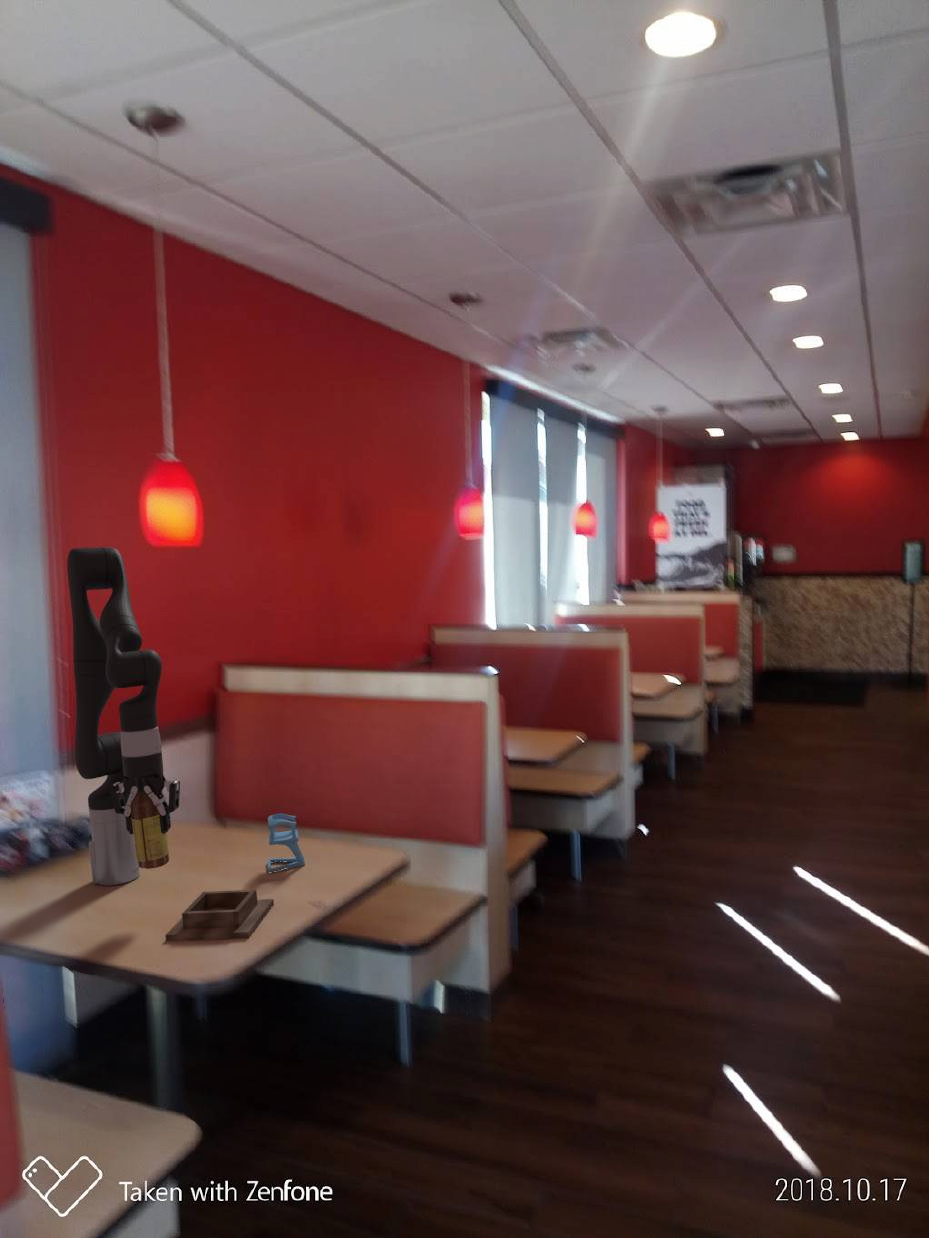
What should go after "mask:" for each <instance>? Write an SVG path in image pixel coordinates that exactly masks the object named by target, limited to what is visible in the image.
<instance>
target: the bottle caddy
mask: <svg viewBox="0 0 929 1238" xmlns="http://www.w3.org/2000/svg"><path fill="white" fill-rule="evenodd" d="M257 892H258V891H257V889H241V890H240V889H239V890H217V891H216V890H215V891H212V890H211V891H202V892H201V893H200V894H199V896H198V897H196V899H194V900H193V902H192V903H190V905H189V906H187V908H186V909H185V910H184V911H183V912H182V913H181V918H180V919H179V920H178V921H177V922H176V924H174V926H172V927H171V928H170V930H169V931H168V932H167V933H166V934H164V936H165V942H182V941H183V942H184V941H186V940H187V941H208V940H209V941H213V940H214V939H215V940H238V939H237V938H239V940H241V939H240V938H247V939H250V938H251V936H252V935H253V933H254V932H255V931H256V930H257V928H258V927H259V925H260V924H261V923H262V922H263V920H264V919H265V918H266V916H267V913H268V914H269V912H270V911H269V910H271V909H272V908H273V907H274V905H275V901H274V898H265V899H258V894H257ZM271 907H272V908H271ZM264 917H265V918H264ZM263 918H264V919H263ZM261 921H262V922H261ZM255 929H256V930H255ZM249 937H250V938H249ZM235 938H236V939H235ZM187 941H186V942H187Z"/></svg>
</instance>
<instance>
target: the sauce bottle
mask: <svg viewBox="0 0 929 1238" xmlns="http://www.w3.org/2000/svg"><path fill="white" fill-rule="evenodd" d="M133 782H134V786H137V788H138V790H137V794H136V796H134V798H133V800H132V802H131V806H130V808H131V816H132V817H131V819H132V827H133V834H134V842H135V850H136V858H137V860H138V865H139V869H140V868H141V869H146V870H147V869H148V870H149V869H151V870H152V869H157V868H160V867H163V866H165V865H166V864H167V863H169V861H170V856H169V853H170V849H169V841H168V834H167V833H168V832H167V833H165V834H162V833H161V826H160V817H159V816H161V814H160V812H159V811H158V809H157V806H155V805H154V803H153V801H152V799H151V798H150V797H149V796H148V795H147V794H146V792H145V790H144V787H145V786H146V785H148V778H147V777H144V778H133ZM158 799H159V798H158ZM159 800H160V799H159Z"/></svg>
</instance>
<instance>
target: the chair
mask: <svg viewBox="0 0 929 1238" xmlns="http://www.w3.org/2000/svg"><path fill="white" fill-rule="evenodd" d="M296 817H297V816H296V815H289V814H287V813H276V814H272V815H271V814H270V815H269V816H268V817H267V825H268V828H269V833H268V845H269V846H276V845H279V846H280V845H281V846H286V847H287V848H289V850H290V851H291V852H292V854H293V855H294V857H282V858H279V857H278V858H268V859H267V873H268V872H274V871H278V870H281V869H284V868H291V869H293V868H292V867H295V868H298V867H297V866H299V867H303V865H304V866H305V865H306V863H305V857H304V855H303V853H302V851H301V849H300V846H299V844H298V842H299V833H298V829H296V828H297V827H296V826H297V821H296ZM280 826H289V827H290V829H291V830H287V831H281V832H275V828H277V827H280ZM275 861H276V862H280V861H281V862H283V861H287V862H294V863H285V864H282V865H280V866H275V867H272V863H271V862H275ZM271 867H272V868H271Z"/></svg>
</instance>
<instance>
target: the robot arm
mask: <svg viewBox="0 0 929 1238" xmlns="http://www.w3.org/2000/svg"><path fill="white" fill-rule="evenodd" d="M66 559H67V560H66V569H67V580H68V581H67V582H68V590H69V599H70V607H71V619H72V652H73V659H72V660H73V676H74V687H75V709H76V710H75V714H76V715H75V732H74V733H75V734H74V735H75V736H74V760H75V766H76V770H77V772H78V774H79V776H80V777H81V778H83V779H85V780H93V779H99V778H103V777H106V778H105V780H104V782H103V783H102V784H101V785H100V786H99V787H97V788H96V789H94V790H93V791H92V792H91V793H90V794H89V795H88V797H87V803H88V804H87V805H88V814H89V823H90V832H91V840H90V841H89V842H88V849H89V859H90V861H89V862H90V868H91V878H92V879H91V880H92V884H97V885H100V886H115V885H116V886H117V885H121V884H125V883H128V882H129V883H130V882H131V881H133V880H135V879H137V878H138V877H140V875H141V874H140V867H139V865H138V860H137V858H136V850H135V842H134V834H133V827H132V819H131V817H132V816H131V808H130V806H131V802H132V800H133V798H134V796H136V794H137V790H138V788H137V786H134V782H133V778H144V777H147V778H148V785H146V786H145V787H144V790H145V792H146V794H147V795H148V796H149V797H150V798H151V799H152V801H153V803H154V805H155V806H157V809H158V811H159V812H160V814H161V816H159V817H160V826H161V833H162V834H165V833H168V832H169V830H170V829H171V827H172V824H171V823H172V822H171V813H174V812H175V810H177V809H178V808H179V807H180V796H181V795H180V793H181V781H180V780H179V779H176V780H167V779H166V777H165V776H164V775H165V774H164V763H163V762H164V761H163V752H162V750H163V749H162V748H163V747H162V746H163V744H162V740H161V734H160V731H159V724H158V723H159V722H158V712H157V701H158V692H159V686H160V682H161V678H162V672H163V662H162V659H161V657H160V655H159V653H157V652H156V651H155V650H153V649H141V648H142V645H143V637H142V634H141V631H140V629H139V626H138V623H137V620H136V618H135V615H134V611H133V607H132V602H131V601H132V600H131V595H130V590H129V589H130V588H129V584H128V578H127V572H126V568H125V565H124V560H123V558H122V555H121V553H120V551H119V550H118V549H117V548H115V547H111V546H106V547H105V546H99V547H97V546H95V547H75V548H72V549H70V550H69V552H68V555H67V558H66ZM110 589H111V595H110V596H109V598H108V601H106V604H105V605H104V607H103V609H102V611H101V613H100V617H99V619H98V617H97V616H96V614H95V613H94V612H93V610H92V607H91V605H90V603H89V599H88V593H87V592H88V591H97V590H99V591H100V590H101V591H102V590H110ZM135 687H142V688H141V691H140V692H139V694H137V695H136V696H132V697H130V698H128V699H125V700H123V701H121V702H120V703H119V706H118V714H119V715H118V716H119V724H120V725H119V726H120V731H114V732H113V731H112V732H107V733H103V734H99V727H100V720H101V716H102V713H103V711H104V709H105V707H106V705H107V703H108V702H109V700H110V698H111V696H112V694H113V692H114V690H115V689H127V688H135ZM164 788H166V791H167V792H168V802H167V797H166V795H165V793H164V792H163V790H164ZM158 798H159V799H160V800H159V799H158Z"/></svg>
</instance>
